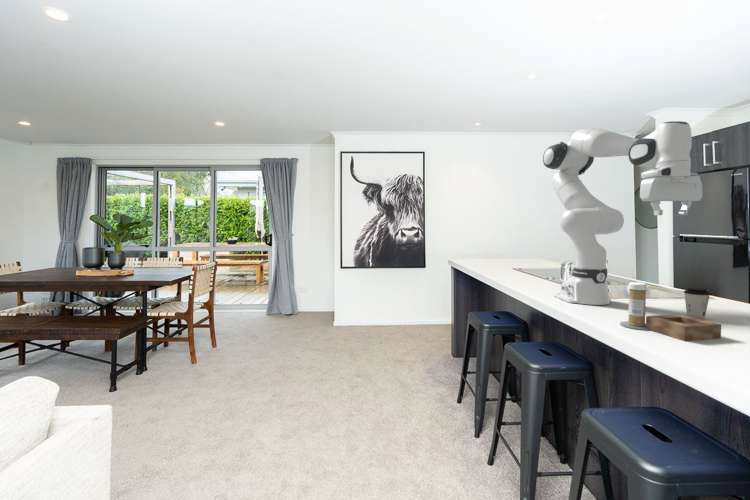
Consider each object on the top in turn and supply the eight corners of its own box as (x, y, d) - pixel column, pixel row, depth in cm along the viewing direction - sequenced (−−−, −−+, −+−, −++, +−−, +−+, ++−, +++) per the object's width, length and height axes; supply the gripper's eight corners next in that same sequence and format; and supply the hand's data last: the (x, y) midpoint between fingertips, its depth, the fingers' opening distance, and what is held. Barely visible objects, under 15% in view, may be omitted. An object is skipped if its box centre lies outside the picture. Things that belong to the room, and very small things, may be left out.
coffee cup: (714, 320, 120) (715, 291, 120) (688, 319, 122) (689, 290, 122) (702, 315, 127) (704, 287, 126) (678, 314, 129) (679, 286, 128)
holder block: (645, 328, 112) (646, 316, 112) (678, 326, 114) (679, 314, 114) (684, 340, 101) (685, 326, 100) (720, 338, 102) (721, 324, 102)
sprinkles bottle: (647, 325, 115) (649, 283, 114) (641, 327, 112) (643, 284, 111) (631, 322, 118) (632, 281, 118) (624, 324, 116) (626, 282, 115)
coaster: (613, 323, 119) (613, 322, 119) (637, 321, 120) (637, 320, 120) (637, 331, 110) (637, 329, 110) (662, 329, 112) (662, 328, 112)
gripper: (689, 173, 122) (687, 215, 123) (636, 173, 119) (635, 215, 120) (709, 171, 116) (707, 214, 117) (654, 170, 112) (652, 215, 113)
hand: (670, 215), depth 118 cm, fingers open, 8 cm apart
